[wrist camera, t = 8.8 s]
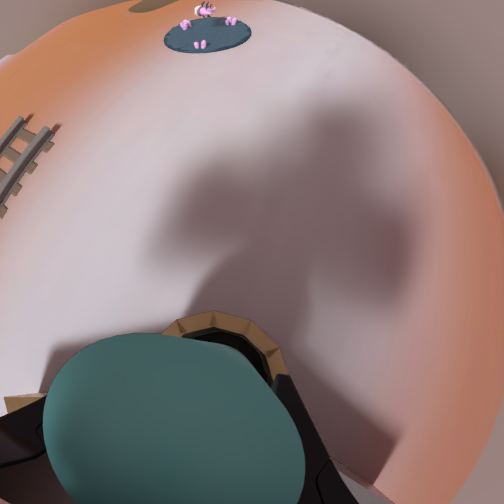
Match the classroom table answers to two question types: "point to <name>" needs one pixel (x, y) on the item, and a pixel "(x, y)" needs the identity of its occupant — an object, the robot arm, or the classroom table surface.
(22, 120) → the model train track
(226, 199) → the classroom table surface
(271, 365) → the bronze hinge leaf
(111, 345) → the teal hinge pin
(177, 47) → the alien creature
